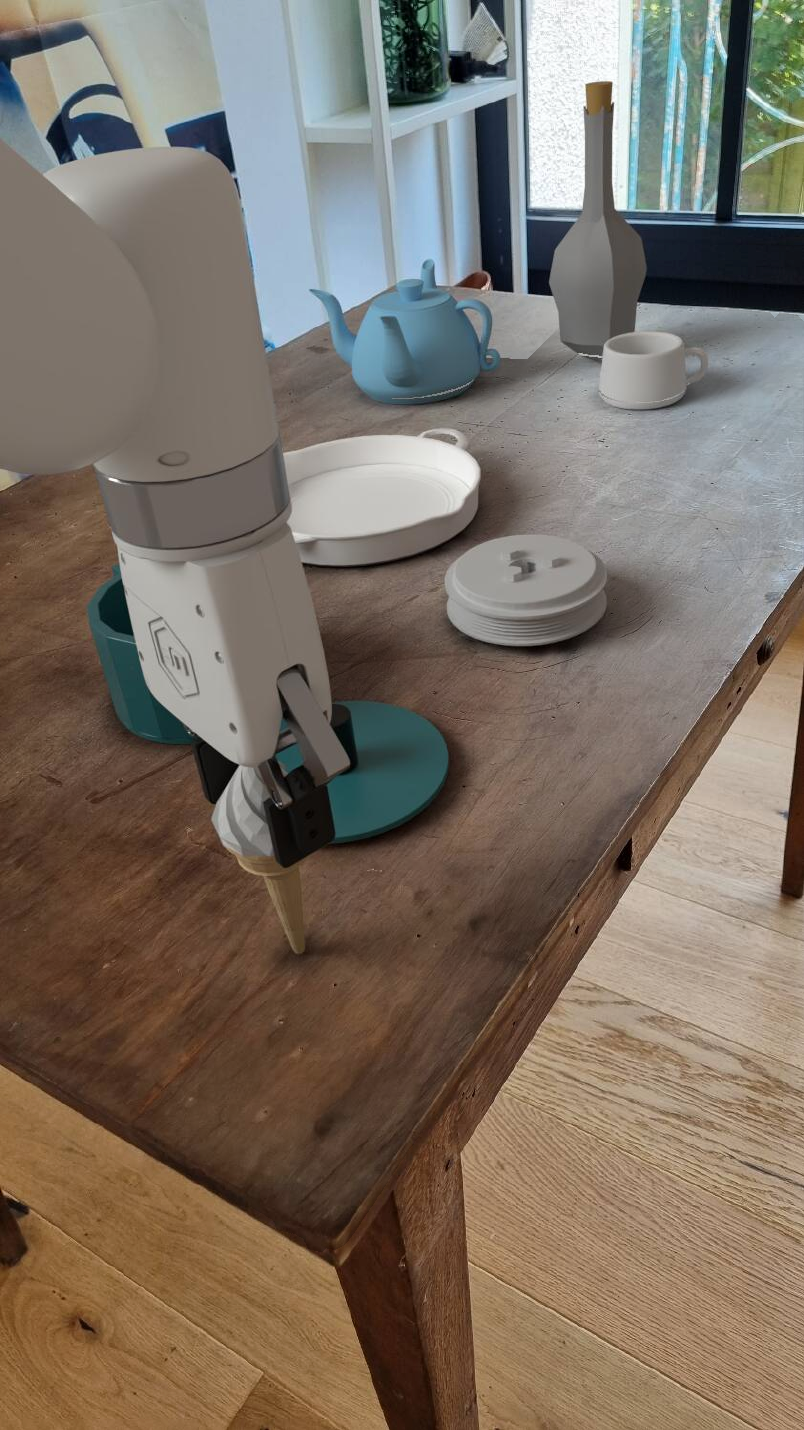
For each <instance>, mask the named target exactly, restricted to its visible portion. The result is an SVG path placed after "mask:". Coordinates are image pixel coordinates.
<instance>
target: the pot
mask: <svg viewBox="0 0 804 1430" xmlns="http://www.w3.org/2000/svg"><path fill="white" fill-rule="evenodd" d="M111 572H112V574H113V577H111V578H110V579H109V580H107V581H106V582H104V583H103V584H101V585H100V586H99V587H98V589H97V590H96V592H95V593H94V594H93V596H92V598H91V599H90V600H89V602H88V604H87V606H86V609H87V619H88V625H89V628H90V631H91V634H92V638H93V642H94V644H95V648H96V651H97V654H98V658H99V661H100V665H101V668H102V670H103V674H104V677H105V680H106V685H107V688H108V691H109V694H110V697H111V700H112V704H113V707H114V710H115V714H116V716H117V717H118V718H119V721H120V722H121V724H122V725H123V726H124V728H126V729H127V730H128V731H130V732H131V733H132V734H133V735H136V736H138V737H140V738H141V739H144V740H147V741H150V742H155V743H160V744H168V745H191V741H192V740H194V739H196V738H198V737H199V735H197V736H195V737H192V736H190V734H189V733H188V732H187V731H186V729H185V727H184V725H183V722H182V721H180V720H179V719H178V718H177V717H176V716H175V715H173V714H172V713H171V712H170V711H169V710H168V709H166V708H165V707H164V706H163V705H162V704H161V703H160V702H159V701H158V700H157V699H156V698H155V697H154V696H153V694H152V693H151V691H150V690H149V688H148V686H147V684H146V681H145V678H144V675H143V671H142V667H141V663H140V658H139V654H138V650H137V646H136V641H135V637H134V632H133V628H132V624H131V619H130V615H129V610H128V605H127V601H126V596H125V591H124V586H123V581H122V576H121V569H120V563H119V562H118V563H116V564H114V565H111Z"/></svg>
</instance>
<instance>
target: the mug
mask: <svg viewBox="0 0 804 1430" xmlns="http://www.w3.org/2000/svg"><path fill="white" fill-rule="evenodd" d="M688 356H696V357H698V359H699V360H700V368H699V370H698V372H697V373H696V374H694V375H692V376H691V377H687V368H686V357H688ZM708 366H709V358H708V355H707V353H706V352H705V351H704V350H703V349H701V348H699V347H685V341H684V340H683V338H681V337H680V336H678V335H676V334H673V333H670V332H666V331H665V332H664V331H656V330H654V331H653V330H652V331H651V330H644V331H634V332H632V333H626V334H622V335H618V336H616V337H613V338H611V339H610V340H608V341H607V342H606V343H605V344H604V349H603V357H602V360H601V366H600V373H599V374H600V375H599V383H598V394H599V396H600V398H601V399H602V401H604V403H606V404H608V405H609V406H612V407H615V408H620V409H626V410H651V409H658V408H659V409H660V408H663V407H668V406H670V405H673V404H675V403H677V402H678V401H680V400H681V399H682V398H683V396H685V394H686V392H687V386H688V385H687V384H688V383H693V384H696V383H697V382H699V381H700V380H701V379H702V378H703V377H704V376H705V375H706V373H707V371H708ZM685 388H686V390H685ZM599 390H600V391H601V393H602V394H604V395H605V396H607V397H609V398H612V399H615V400H619V401H624V402H635V403H624V402H618V401H614V400H610V399H607V398H606V397H604V396H602V395H601V393H600V392H599ZM683 390H685V391H684V392H683V393H682V394H680V395H679V396H677V397H674V398H672V399H669V400H664V399H667V398H670V397H673V396H675V395H677V394H679V393H681V392H682V391H683ZM660 400H664V401H660ZM651 401H652V402H653V403H636V402H651ZM654 401H660V402H654Z"/></svg>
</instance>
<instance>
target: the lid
mask: <svg viewBox="0 0 804 1430" xmlns="http://www.w3.org/2000/svg"><path fill="white" fill-rule="evenodd" d="M607 581H608V570H607V566H606V564H605V563H604V561H603V560H602V559H601V558H600V557H599V556H598V555H597V554H596V553H594V552H593V551H592V550H590V549H587V547H585V546H583V545H581V544H580V543H578V542H576V541H573V540H571V539H568V538H565V537H560V536H555V535H548V534H535V533H532V534H530V533H529V534H525V533H524V534H513V535H509V536H508V535H507V536H502V537H498V538H494V539H490V540H487V541H484V542H482V543H480V544H477V545H475V546H474V547H472V548H470V549H468V550H467V551H466V552H464V553H463V554H462V555H460V556H459V557H458V558H457V559H455V561H453V563H451V565H449V566H448V568H447V570H446V572H445V575H444V588H445V591H446V594H447V596H448V599H447V602H446V612H447V617H448V618H449V621H450V622H451V624H452V625H453V626H454V627H455V628H456V629H458V630H459V631H460V632H461V633H464V634H465V635H467V636H469V637H471V638H473V639H475V640H478V641H481V642H485V643H488V644H492V645H493V644H494V645H499V646H500V645H501V646H509V647H534V646H543V645H549V644H554V643H557V642H561V641H565V640H569V639H571V638H573V637H576V636H578V635H580V634H582V633H585V632H586V631H587V630H590V629H591V628H592V627H593V626H595V625H596V624H597V623H598V622H599V621H600V620H601V619H602V618H603V616H604V614H605V612H606V609H607V603H608V601H607V600H608V599H607V598H608V597H607V594H606V591H605V589H604V588H605V587H606V584H607Z"/></svg>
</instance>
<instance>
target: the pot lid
mask: <svg viewBox="0 0 804 1430" xmlns="http://www.w3.org/2000/svg"><path fill="white" fill-rule="evenodd" d="M287 726H288V725H287V723H286V722H285V720H284V718H283V719H282V721H281V726H280V730H281V729H283V728H285V727H287ZM330 726H331V727H332V729H333V731H334V733H335V734H336V736H337V738H338V740H339V741H340V743H341V745H342V747H343V748H344V750H345V752H346V753H347V755H348V757H349V760H350V767H349V768H348V769H347V770H345V771H344V772H342V773H341V774H339V775H337V776H336V777H335V778H334V779H332V782H331V783H329V784H327V787H328V793H329V799H330V804H331V810H332V816H333V821H334V827H335V833H336V835H335V838H334V840H333V841H332V842H330V843H329V844H341V843H348V842H355V841H359V840H364V839H368V838H371V837H375V836H378V835H381V834H384V833H386V832H389V831H390V830H393V829H395V828H397V827H400V826H402V825H403V824H405V823H407V822H408V821H410V820H411V819H413V818H415V817H416V816H417V815H419V814H420V813H422V811H423V810H425V809H426V808H427V807H428V806H429V805H431V803H432V802H433V801H434V800H435V799H436V797H438V795H439V793H440V792H441V790H442V789H443V787H444V785H445V783H446V780H447V777H448V774H449V769H450V755H449V749H448V745H447V743H446V740H445V738H444V737H443V734H441V732H440V731H439V729H438V728H436V726H434V724H433V723H432V722H430V721H429V720H428V719H426V718H425V717H424V716H422V715H420V714H418V713H417V712H414V711H412V710H410V709H407V708H405V707H402V706H398V705H395V704H390V703H385V702H381V701H380V702H379V701H371V700H347V701H346V700H345V701H336V702H332V716H331V721H330ZM276 758H277V760H278V761H279V762H281V763H282V764H284V765H285V766H286V768H285V769H284V770H285V771H286V772H287V773H289V772H291V771H292V770H293V769H295V768H297V767H299V766H300V765H301V764H302V763H303V762H304V760H303V757H302V755H301V752H300V749H299V747H298V744H295V745H293V746H291V747H289V748H287V749H285V750H283V751H282V752H280V753H278V754H276Z"/></svg>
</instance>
